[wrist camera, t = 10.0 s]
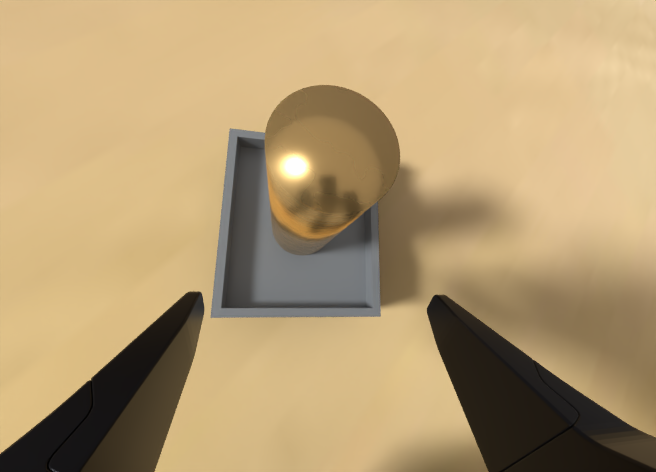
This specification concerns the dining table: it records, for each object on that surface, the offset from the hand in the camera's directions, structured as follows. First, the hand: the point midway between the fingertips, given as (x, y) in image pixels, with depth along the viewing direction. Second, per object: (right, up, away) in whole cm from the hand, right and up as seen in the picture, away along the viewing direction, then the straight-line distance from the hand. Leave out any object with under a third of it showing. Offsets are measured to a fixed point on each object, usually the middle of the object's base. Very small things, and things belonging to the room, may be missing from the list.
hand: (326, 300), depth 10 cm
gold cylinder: (-2, +3, +11) cm, 12 cm away
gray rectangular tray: (-3, +3, +14) cm, 15 cm away
